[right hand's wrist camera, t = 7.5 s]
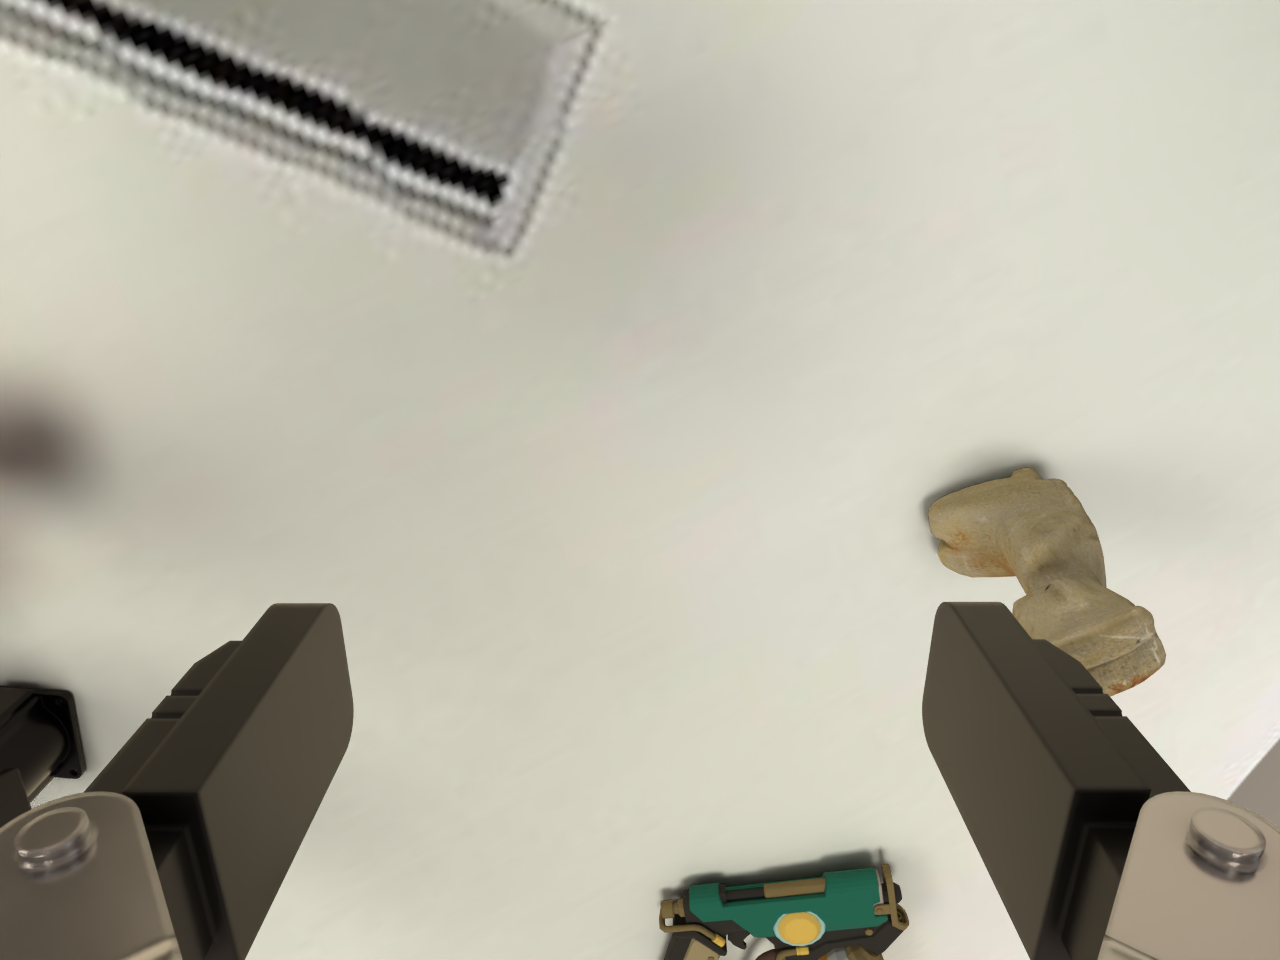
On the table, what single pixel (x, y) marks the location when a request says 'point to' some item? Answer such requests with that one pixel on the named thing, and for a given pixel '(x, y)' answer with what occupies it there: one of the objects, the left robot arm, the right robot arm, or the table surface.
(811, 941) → the spray gun
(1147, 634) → the sculpture
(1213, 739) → the table surface
